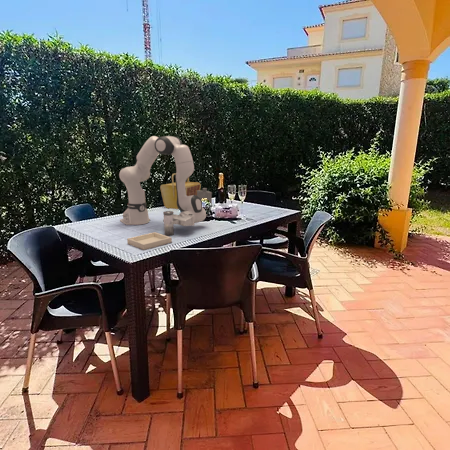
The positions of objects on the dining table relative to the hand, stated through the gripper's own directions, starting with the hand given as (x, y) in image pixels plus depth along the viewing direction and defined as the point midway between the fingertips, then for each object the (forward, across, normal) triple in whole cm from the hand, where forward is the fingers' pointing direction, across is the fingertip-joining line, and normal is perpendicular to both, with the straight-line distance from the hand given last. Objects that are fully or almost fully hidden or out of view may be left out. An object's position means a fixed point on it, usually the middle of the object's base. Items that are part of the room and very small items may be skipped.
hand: (167, 222), depth 185 cm
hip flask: (-60, -30, +8) cm, 67 cm away
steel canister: (-1, 0, +8) cm, 8 cm away
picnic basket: (-65, -65, +8) cm, 92 cm away
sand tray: (+17, +6, +8) cm, 20 cm away
